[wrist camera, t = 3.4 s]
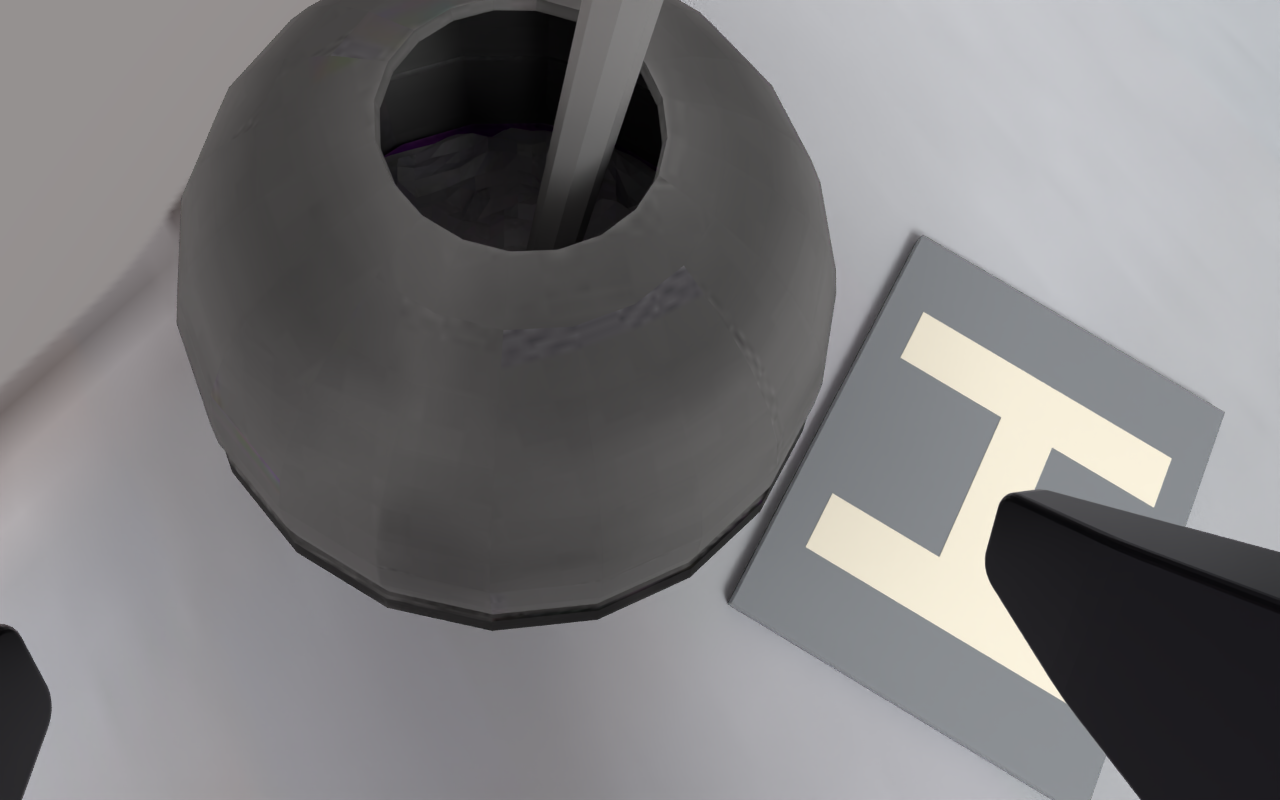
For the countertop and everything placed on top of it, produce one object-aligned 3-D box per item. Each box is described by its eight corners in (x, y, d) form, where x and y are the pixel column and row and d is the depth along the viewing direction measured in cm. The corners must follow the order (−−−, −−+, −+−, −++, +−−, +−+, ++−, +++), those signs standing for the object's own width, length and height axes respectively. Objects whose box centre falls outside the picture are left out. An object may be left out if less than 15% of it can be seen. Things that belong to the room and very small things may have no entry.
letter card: (1074, 813, 20) (1085, 816, 20) (727, 604, 21) (731, 603, 20) (1213, 415, 24) (1225, 412, 24) (916, 241, 24) (923, 234, 24)
